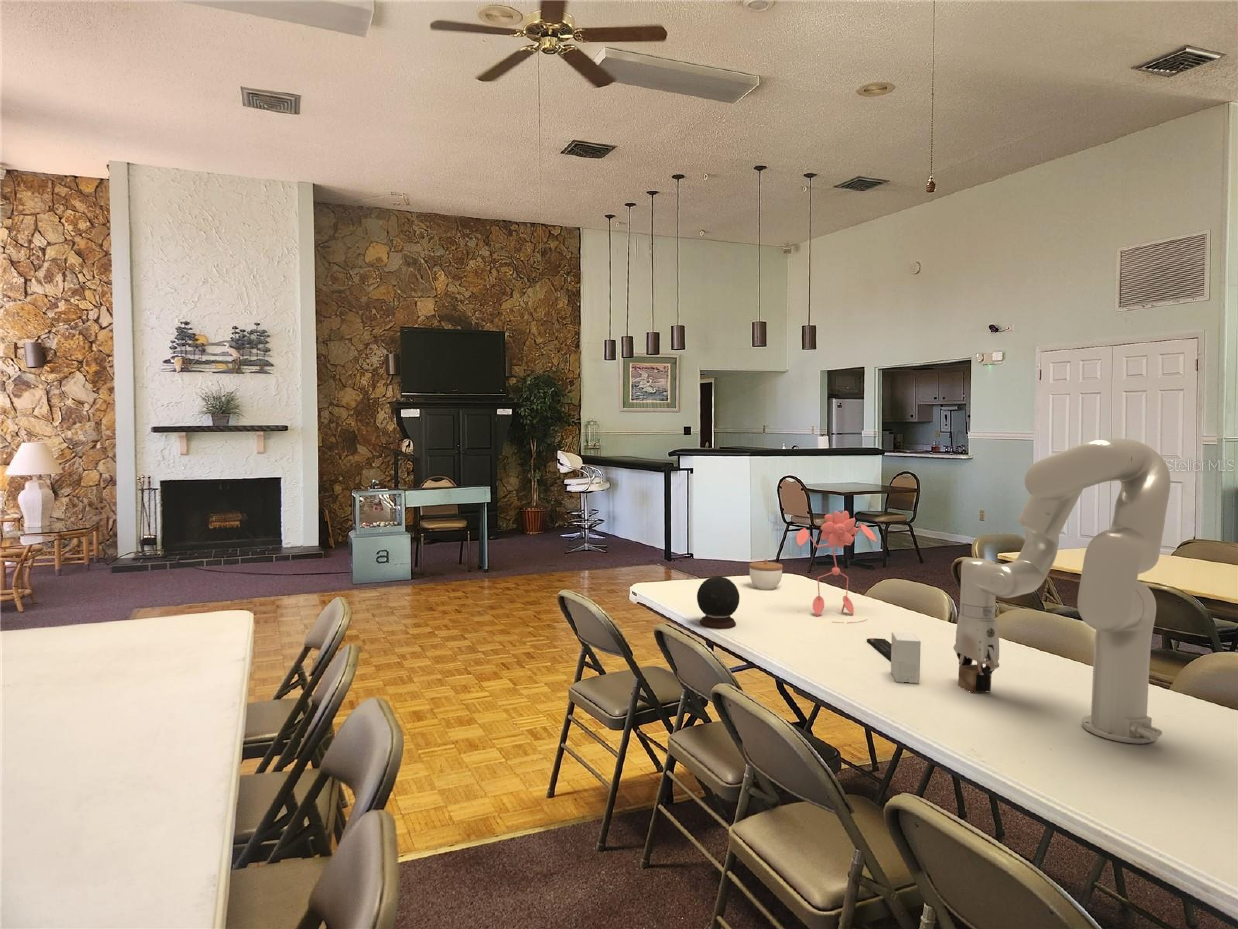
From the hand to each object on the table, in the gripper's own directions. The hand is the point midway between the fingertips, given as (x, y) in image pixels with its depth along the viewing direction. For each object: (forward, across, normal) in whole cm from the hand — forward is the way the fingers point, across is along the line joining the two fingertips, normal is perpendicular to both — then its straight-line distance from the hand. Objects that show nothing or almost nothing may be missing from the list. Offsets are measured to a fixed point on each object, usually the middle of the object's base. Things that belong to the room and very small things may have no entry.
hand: (974, 686), depth 179 cm
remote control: (+2, +29, +4) cm, 29 cm away
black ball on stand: (+1, +66, +40) cm, 78 cm away
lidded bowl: (+1, +114, +4) cm, 114 cm away
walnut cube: (+1, 0, 0) cm, 1 cm away
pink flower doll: (+1, +68, -1) cm, 68 cm away
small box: (+1, +10, +12) cm, 16 cm away
